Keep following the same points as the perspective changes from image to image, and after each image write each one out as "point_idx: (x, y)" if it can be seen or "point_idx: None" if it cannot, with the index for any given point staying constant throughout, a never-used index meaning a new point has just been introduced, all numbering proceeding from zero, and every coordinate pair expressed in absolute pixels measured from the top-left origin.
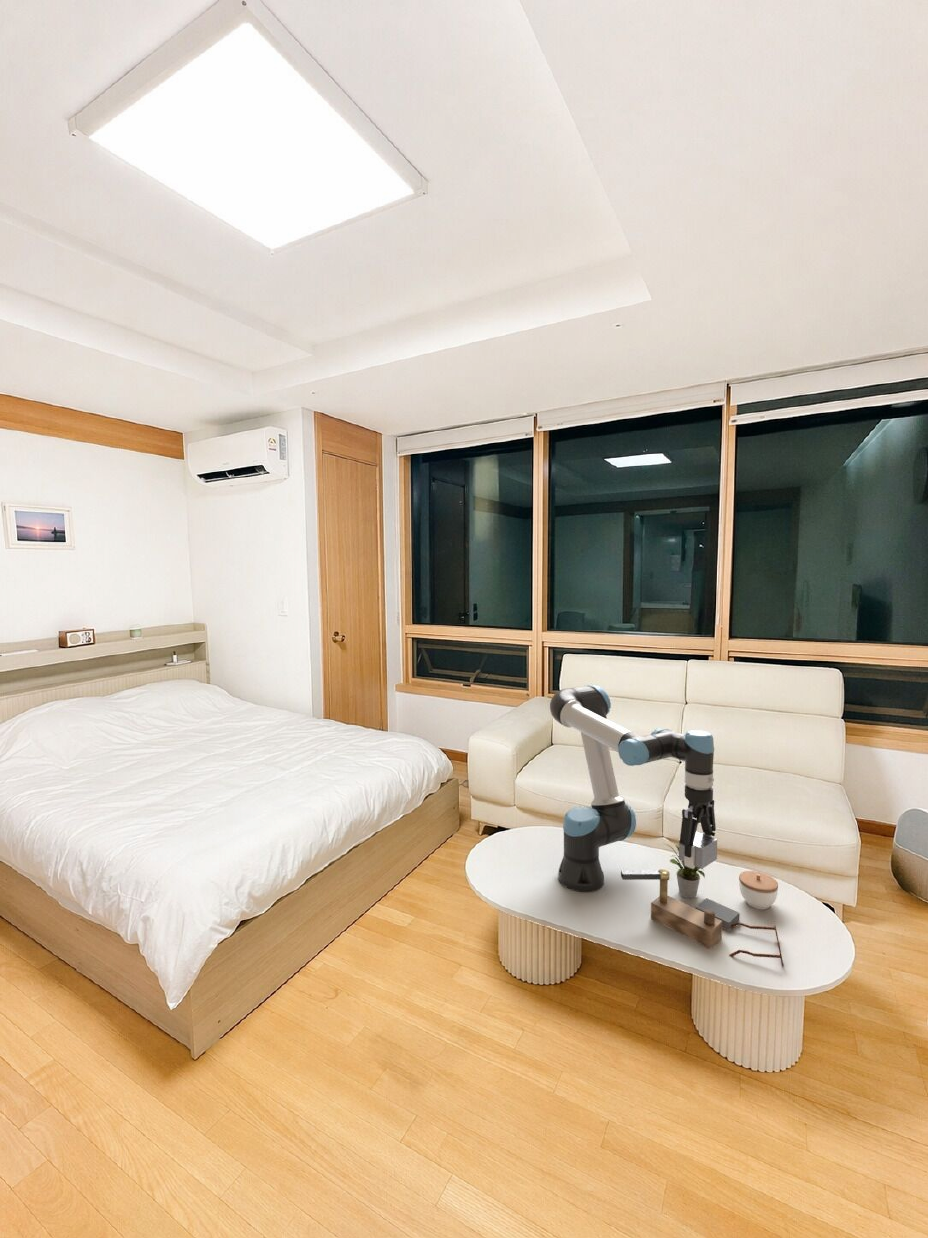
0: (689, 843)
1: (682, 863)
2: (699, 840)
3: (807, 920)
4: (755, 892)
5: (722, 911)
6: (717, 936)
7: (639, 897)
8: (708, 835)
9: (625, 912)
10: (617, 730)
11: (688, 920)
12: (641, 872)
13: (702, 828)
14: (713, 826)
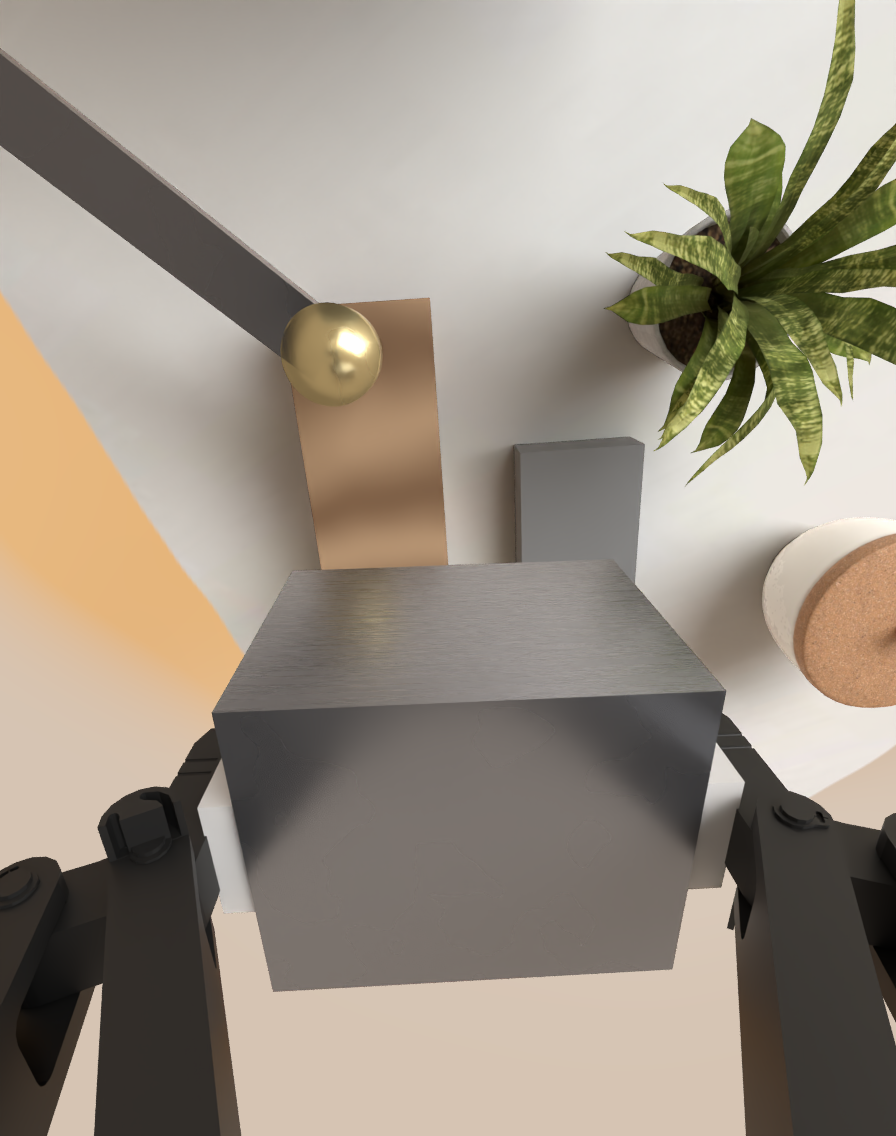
0: (78, 1002)
1: (774, 239)
2: (456, 884)
3: (809, 728)
4: (790, 640)
5: (586, 553)
6: None
7: (419, 116)
8: (724, 860)
9: (219, 166)
10: None
11: (321, 542)
12: (138, 210)
13: (762, 881)
14: (894, 1018)
